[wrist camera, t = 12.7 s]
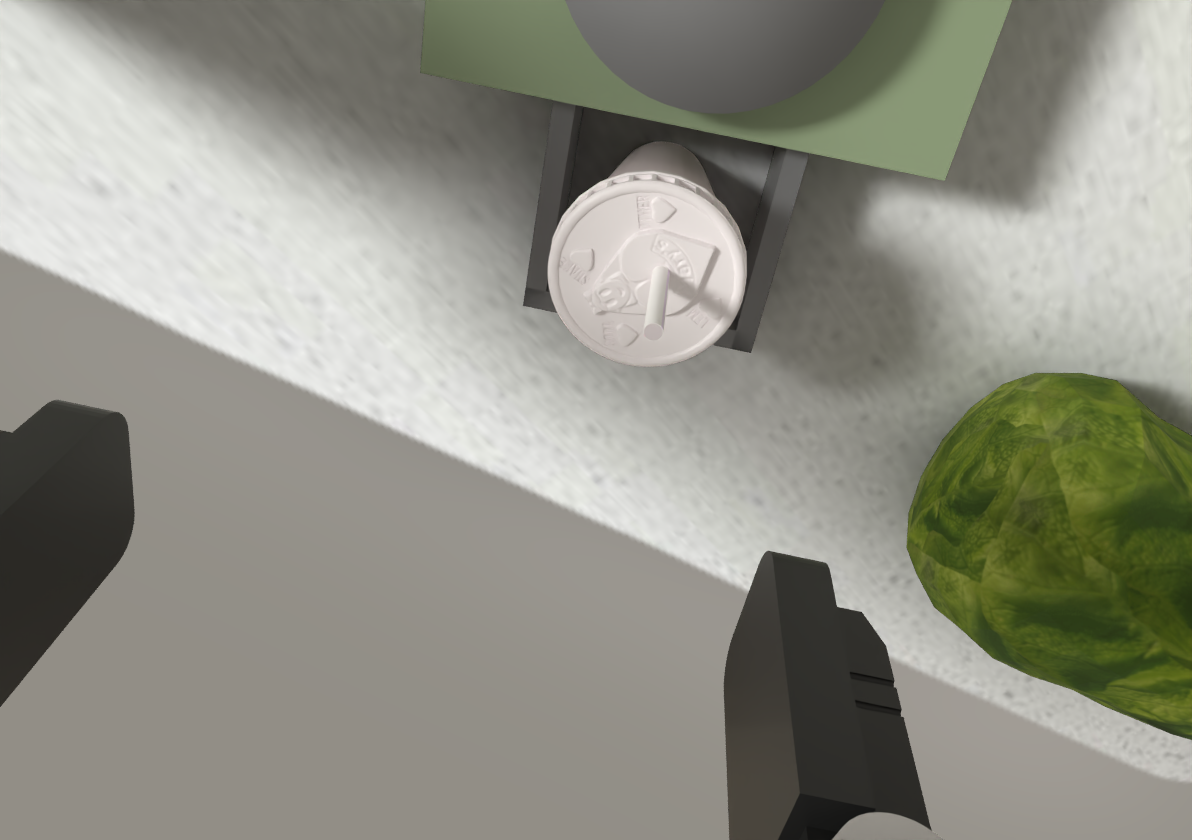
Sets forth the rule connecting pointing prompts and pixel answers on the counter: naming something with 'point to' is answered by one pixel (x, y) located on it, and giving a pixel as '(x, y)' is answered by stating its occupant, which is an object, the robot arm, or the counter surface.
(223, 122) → the counter surface
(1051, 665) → the lettuce
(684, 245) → the smoothie
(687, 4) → the green base
